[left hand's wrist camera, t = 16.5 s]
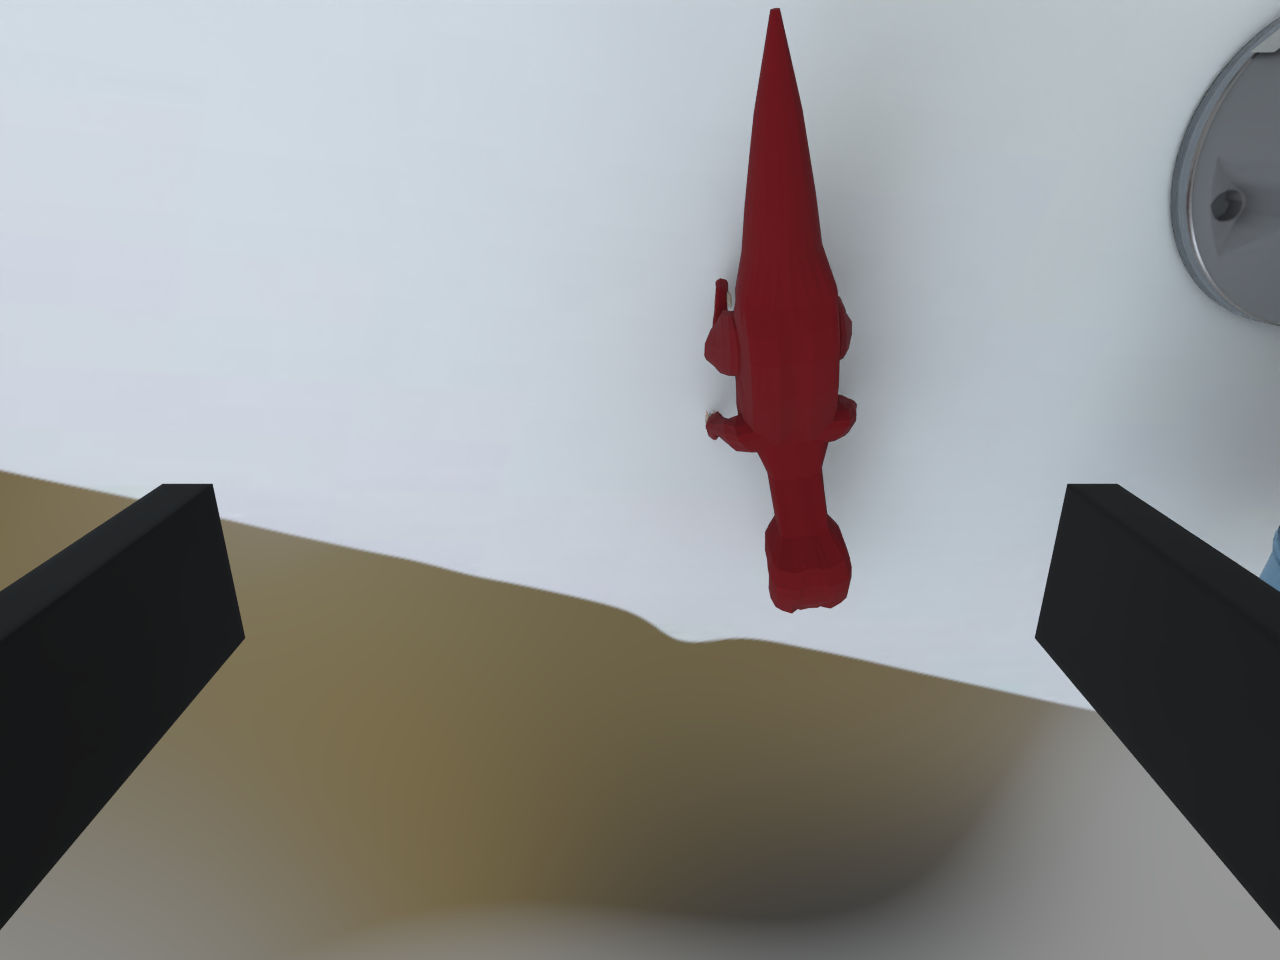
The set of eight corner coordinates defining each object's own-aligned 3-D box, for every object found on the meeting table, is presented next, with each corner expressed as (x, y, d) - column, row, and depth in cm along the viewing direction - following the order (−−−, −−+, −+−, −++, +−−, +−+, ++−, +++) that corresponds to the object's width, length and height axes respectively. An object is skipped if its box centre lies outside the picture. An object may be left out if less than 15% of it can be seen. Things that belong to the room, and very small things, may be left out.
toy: (718, 553, 47) (740, 671, 37) (654, 45, 36) (663, 26, 26) (842, 536, 47) (897, 651, 37) (818, 17, 35) (889, -13, 26)
